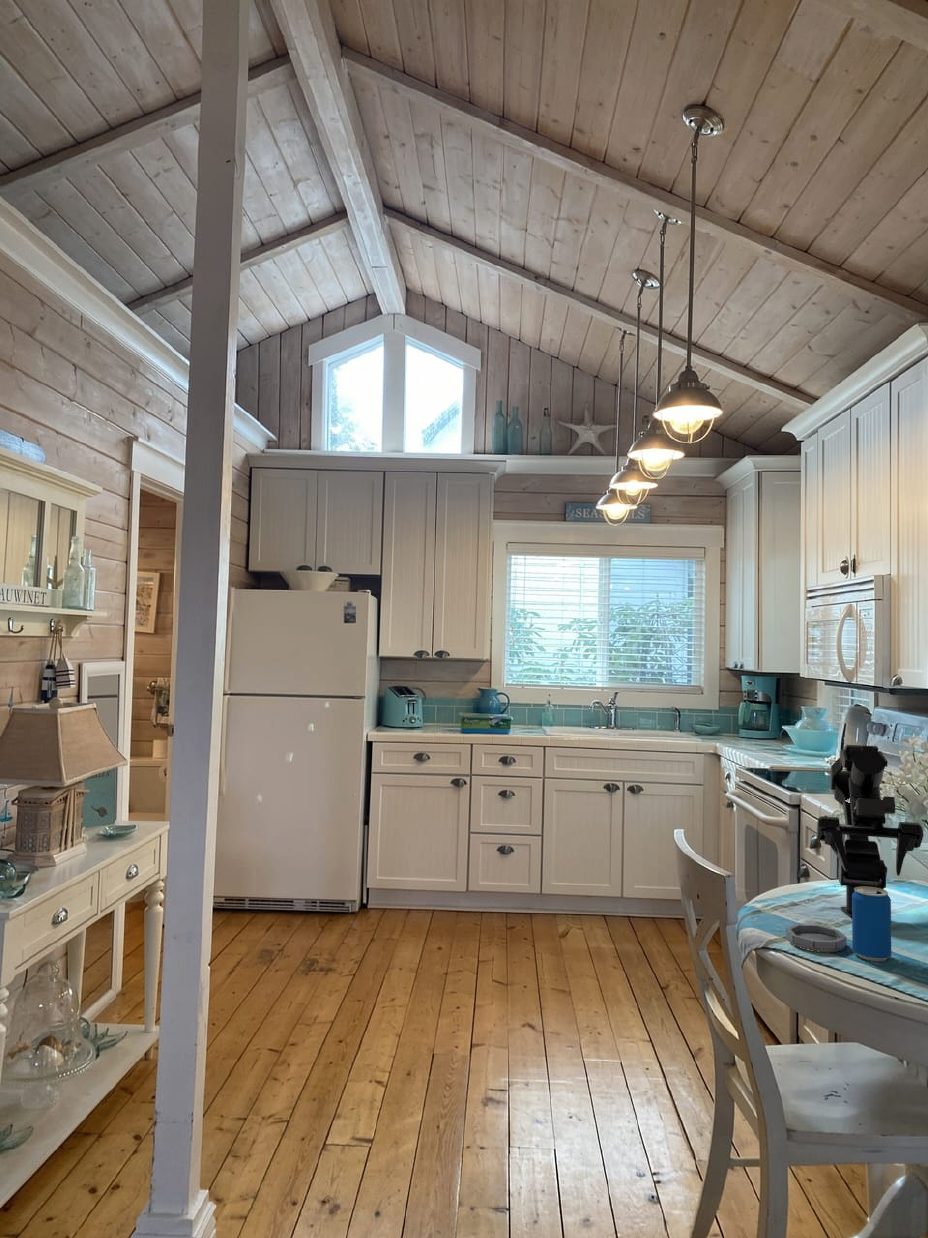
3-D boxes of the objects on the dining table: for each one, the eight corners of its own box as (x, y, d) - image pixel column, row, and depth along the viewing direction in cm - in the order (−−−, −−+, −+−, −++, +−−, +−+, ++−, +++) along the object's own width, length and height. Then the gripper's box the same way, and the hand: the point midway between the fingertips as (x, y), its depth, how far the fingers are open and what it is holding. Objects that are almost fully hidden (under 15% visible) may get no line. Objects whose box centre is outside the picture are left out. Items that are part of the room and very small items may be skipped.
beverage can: (898, 963, 151) (897, 896, 152) (862, 963, 151) (862, 895, 152) (880, 950, 158) (879, 885, 158) (846, 950, 158) (845, 885, 158)
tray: (781, 933, 166) (781, 923, 166) (832, 935, 166) (832, 925, 166) (797, 952, 156) (797, 941, 156) (852, 953, 156) (852, 942, 156)
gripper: (817, 777, 168) (821, 849, 159) (922, 782, 162) (932, 858, 152) (815, 804, 176) (818, 874, 167) (914, 810, 170) (924, 884, 160)
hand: (872, 872), depth 161 cm, fingers open, 9 cm apart
